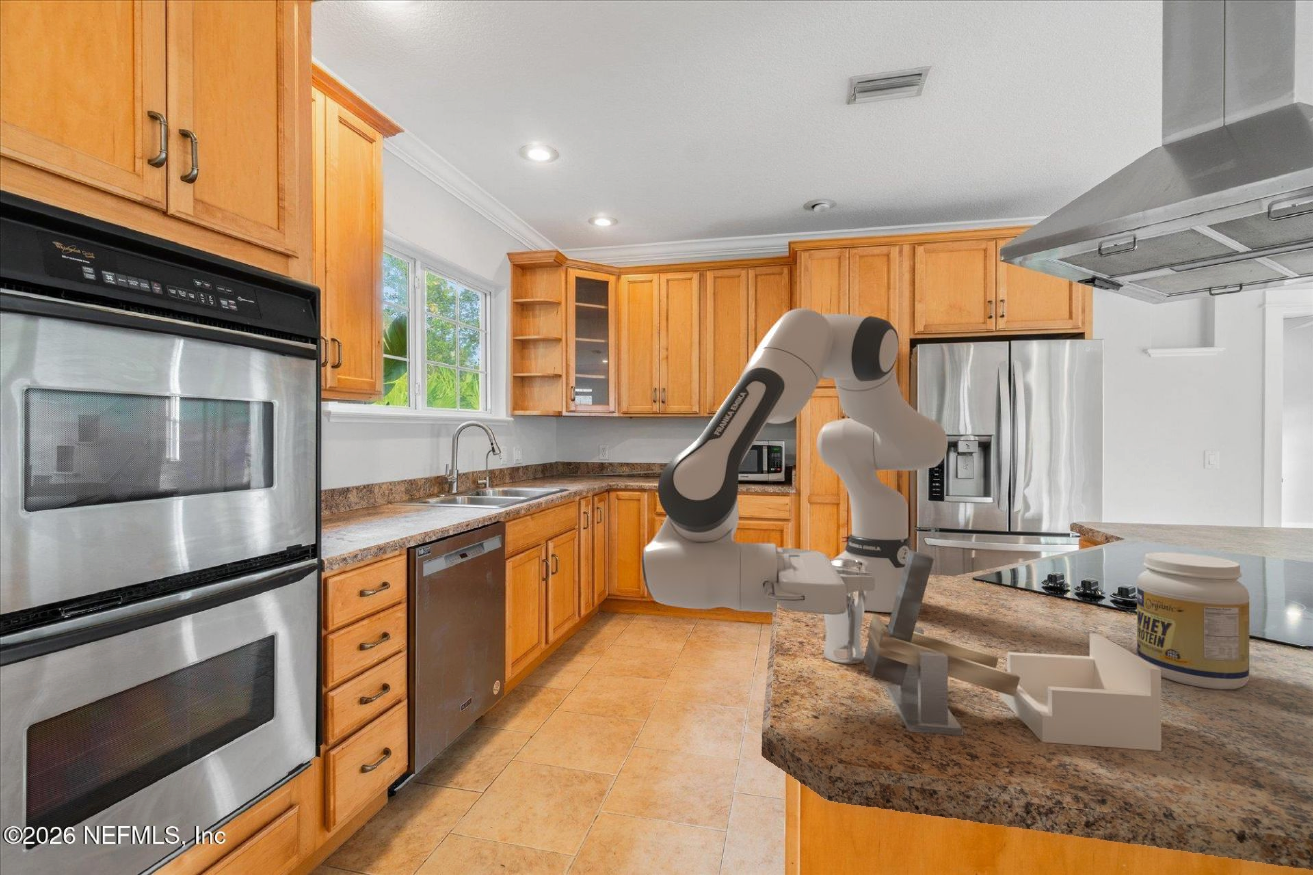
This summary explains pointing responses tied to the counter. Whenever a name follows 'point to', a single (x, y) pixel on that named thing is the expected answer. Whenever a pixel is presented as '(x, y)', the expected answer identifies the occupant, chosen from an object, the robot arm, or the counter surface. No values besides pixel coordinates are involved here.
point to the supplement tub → (1194, 620)
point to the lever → (925, 639)
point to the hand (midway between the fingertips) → (872, 581)
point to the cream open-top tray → (1089, 697)
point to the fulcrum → (925, 695)
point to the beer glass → (846, 622)
